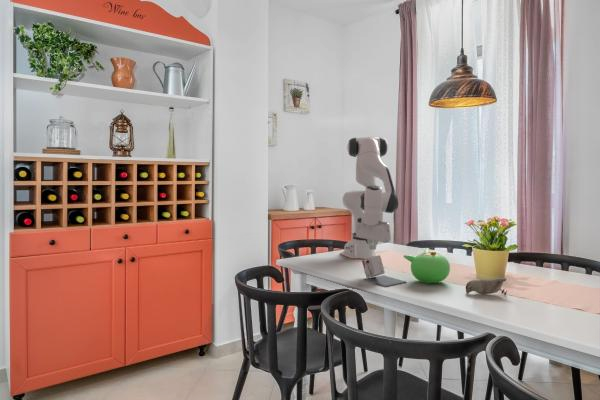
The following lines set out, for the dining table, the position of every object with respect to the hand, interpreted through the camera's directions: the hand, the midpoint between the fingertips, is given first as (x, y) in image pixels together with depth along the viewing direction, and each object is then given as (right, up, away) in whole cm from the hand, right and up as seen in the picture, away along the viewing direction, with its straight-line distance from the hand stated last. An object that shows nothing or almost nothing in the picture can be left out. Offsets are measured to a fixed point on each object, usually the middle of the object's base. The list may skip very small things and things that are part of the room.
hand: (372, 249), depth 200 cm
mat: (+4, -14, -7) cm, 16 cm away
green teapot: (+25, -14, -7) cm, 29 cm away
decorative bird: (+43, -16, -25) cm, 52 cm away
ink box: (-2, -9, +1) cm, 9 cm away
